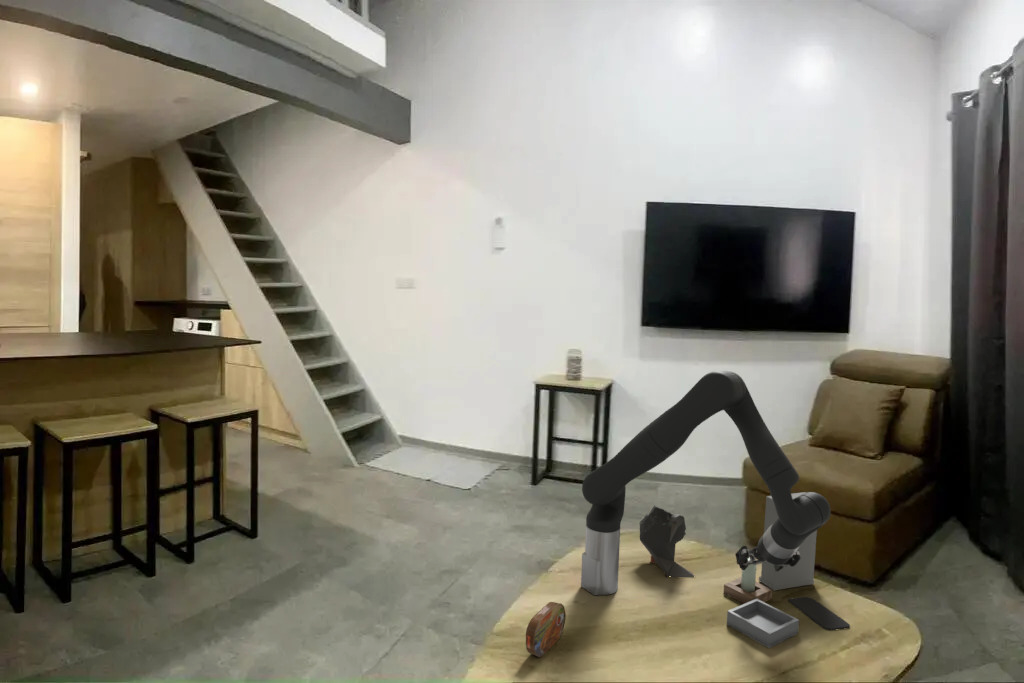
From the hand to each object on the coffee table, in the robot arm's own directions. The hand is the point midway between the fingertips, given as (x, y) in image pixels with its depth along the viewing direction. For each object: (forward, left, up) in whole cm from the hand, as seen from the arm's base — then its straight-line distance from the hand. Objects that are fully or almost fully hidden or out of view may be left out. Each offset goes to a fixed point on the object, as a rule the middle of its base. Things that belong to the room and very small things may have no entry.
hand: (758, 566), depth 158 cm
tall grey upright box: (+20, +4, -12) cm, 23 cm away
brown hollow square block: (+4, +5, -11) cm, 13 cm away
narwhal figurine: (-2, +30, -11) cm, 32 cm away
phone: (+12, -10, -12) cm, 19 cm away
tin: (-56, +15, -12) cm, 60 cm away
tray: (-7, -7, -11) cm, 15 cm away
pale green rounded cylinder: (+4, +5, -11) cm, 13 cm away
